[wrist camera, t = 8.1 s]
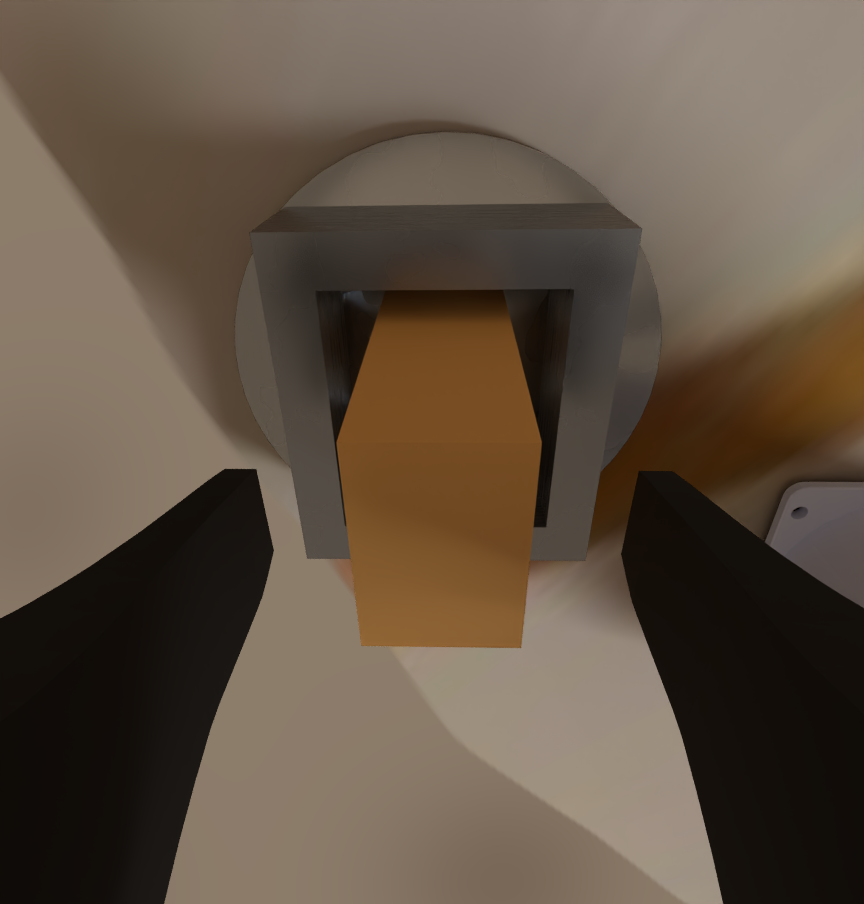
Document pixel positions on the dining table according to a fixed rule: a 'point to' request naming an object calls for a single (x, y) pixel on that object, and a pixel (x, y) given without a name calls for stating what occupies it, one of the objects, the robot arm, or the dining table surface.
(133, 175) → the dining table surface
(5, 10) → the dining table surface
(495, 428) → the rectangular block
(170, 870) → the robot arm
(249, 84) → the dining table surface
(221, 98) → the dining table surface
